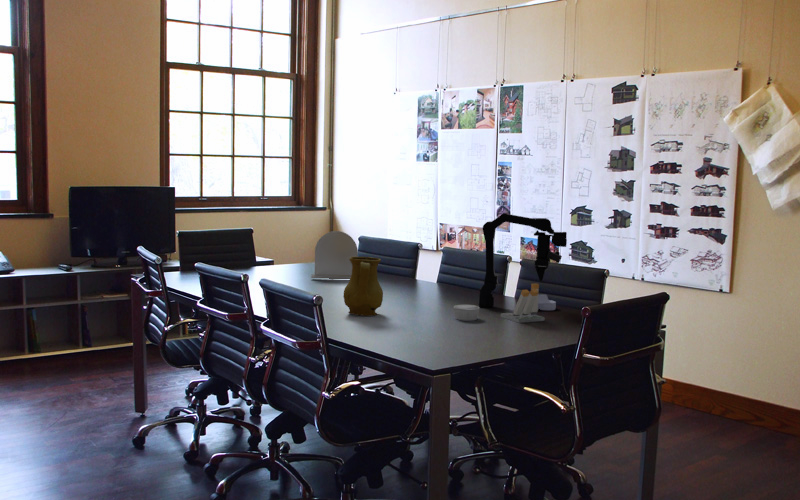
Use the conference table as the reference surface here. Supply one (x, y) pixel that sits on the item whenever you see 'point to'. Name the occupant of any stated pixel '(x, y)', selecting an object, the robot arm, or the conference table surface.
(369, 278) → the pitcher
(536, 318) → the panel
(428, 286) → the conference table surface
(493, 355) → the conference table surface
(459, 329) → the conference table surface
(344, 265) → the award
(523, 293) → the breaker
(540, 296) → the wedge on round base
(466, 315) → the ramekin
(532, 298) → the grey long bar piece
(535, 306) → the tripped breaker
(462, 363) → the conference table surface
